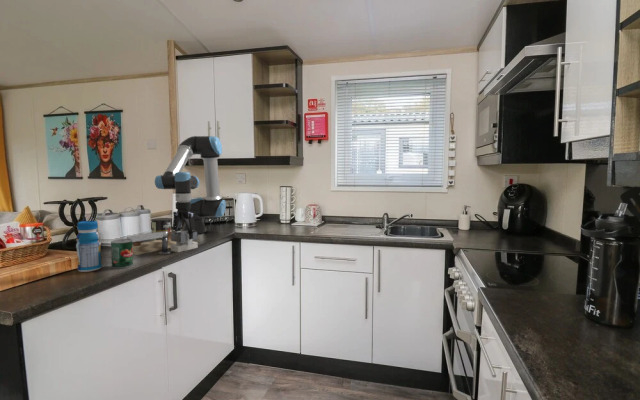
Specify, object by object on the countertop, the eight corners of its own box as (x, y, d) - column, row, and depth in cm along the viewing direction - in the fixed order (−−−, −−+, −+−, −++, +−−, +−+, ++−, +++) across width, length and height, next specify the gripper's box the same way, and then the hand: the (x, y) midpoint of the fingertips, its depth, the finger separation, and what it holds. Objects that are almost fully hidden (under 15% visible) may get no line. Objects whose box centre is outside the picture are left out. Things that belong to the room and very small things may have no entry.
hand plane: (169, 245, 181) (168, 231, 180) (176, 246, 178) (175, 232, 177) (129, 253, 162) (129, 237, 161) (136, 254, 159) (136, 238, 158)
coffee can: (175, 241, 190) (175, 218, 188) (163, 245, 179) (163, 220, 178) (160, 241, 192) (159, 217, 190) (147, 244, 182) (146, 219, 180)
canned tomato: (130, 267, 138) (129, 242, 137) (109, 269, 135) (108, 243, 134) (135, 262, 145) (134, 238, 144) (115, 263, 143) (114, 239, 142)
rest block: (190, 246, 178) (190, 241, 178) (197, 247, 175) (197, 242, 175) (170, 250, 168) (170, 245, 167) (178, 252, 165) (178, 246, 164)
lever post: (166, 251, 166) (166, 235, 165) (174, 252, 163) (173, 236, 163) (155, 253, 161) (155, 237, 160) (163, 255, 158) (162, 238, 157)
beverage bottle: (87, 273, 129) (85, 223, 128) (72, 271, 132) (69, 222, 130) (107, 267, 137) (104, 220, 136) (91, 265, 140) (89, 220, 138)
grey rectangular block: (187, 237, 177) (187, 230, 177) (197, 239, 173) (197, 231, 173) (170, 240, 169) (170, 233, 168) (181, 242, 165) (180, 234, 164)
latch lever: (166, 235, 164) (165, 230, 163) (169, 236, 162) (169, 231, 161) (126, 241, 149) (126, 236, 149) (129, 242, 147) (129, 237, 147)
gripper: (164, 201, 171) (165, 243, 173) (190, 203, 161) (191, 247, 163) (176, 200, 178) (177, 240, 180) (202, 201, 167) (203, 245, 169)
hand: (184, 244), depth 171 cm, fingers closed on grey rectangular block, 8 cm apart
